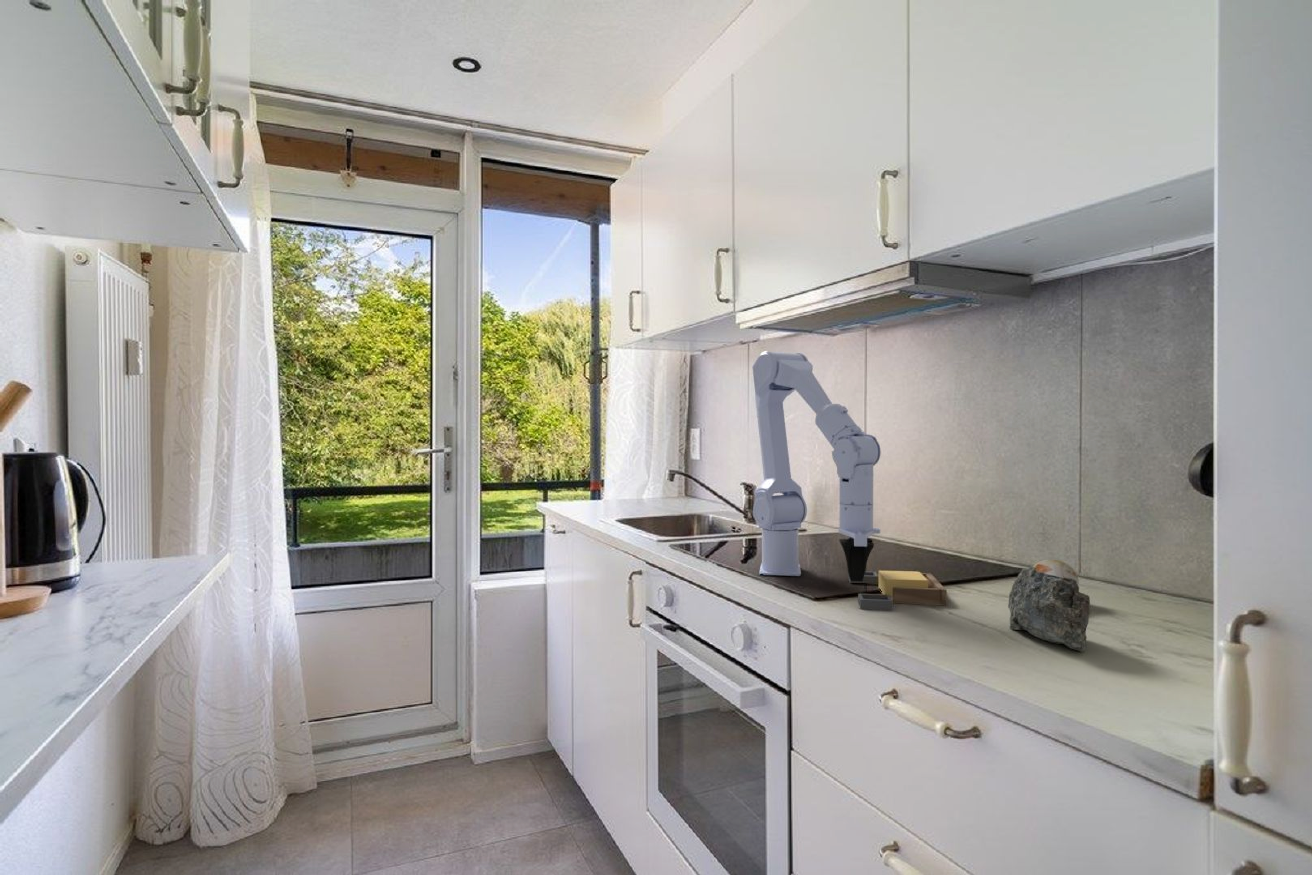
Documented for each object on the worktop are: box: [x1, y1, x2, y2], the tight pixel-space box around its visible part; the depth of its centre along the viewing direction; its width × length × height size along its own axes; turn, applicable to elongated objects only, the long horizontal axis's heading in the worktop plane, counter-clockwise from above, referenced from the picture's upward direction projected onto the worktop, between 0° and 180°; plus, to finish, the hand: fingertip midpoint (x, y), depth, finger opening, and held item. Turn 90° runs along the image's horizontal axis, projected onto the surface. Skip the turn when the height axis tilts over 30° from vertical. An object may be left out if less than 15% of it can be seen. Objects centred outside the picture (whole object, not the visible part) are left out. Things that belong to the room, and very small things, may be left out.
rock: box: [1007, 566, 1091, 652], centre depth 95 cm, size 14×10×10 cm
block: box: [878, 570, 928, 599], centre depth 121 cm, size 7×7×4 cm
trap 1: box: [848, 571, 879, 584], centre depth 130 cm, size 4×5×2 cm
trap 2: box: [857, 593, 894, 611], centre depth 112 cm, size 4×5×2 cm
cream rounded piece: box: [1032, 558, 1080, 586], centre depth 113 cm, size 8×10×10 cm
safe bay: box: [892, 572, 948, 606], centre depth 120 cm, size 13×8×2 cm, turn 169°
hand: (856, 580), depth 122 cm, fingers closed
